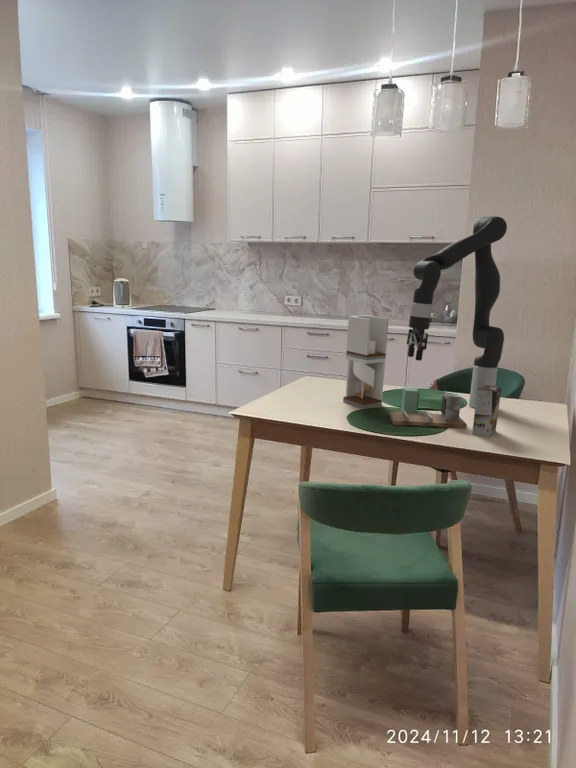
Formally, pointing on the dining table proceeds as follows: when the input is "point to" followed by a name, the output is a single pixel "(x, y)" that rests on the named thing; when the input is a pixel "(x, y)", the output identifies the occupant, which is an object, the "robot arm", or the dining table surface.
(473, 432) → the coffee box
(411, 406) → the green rectangular block
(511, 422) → the dining table surface
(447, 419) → the rail
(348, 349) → the white dispenser tower
